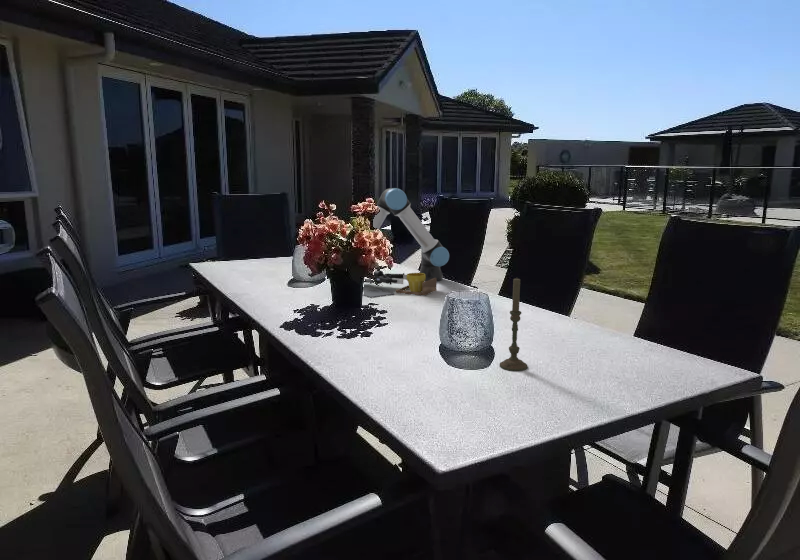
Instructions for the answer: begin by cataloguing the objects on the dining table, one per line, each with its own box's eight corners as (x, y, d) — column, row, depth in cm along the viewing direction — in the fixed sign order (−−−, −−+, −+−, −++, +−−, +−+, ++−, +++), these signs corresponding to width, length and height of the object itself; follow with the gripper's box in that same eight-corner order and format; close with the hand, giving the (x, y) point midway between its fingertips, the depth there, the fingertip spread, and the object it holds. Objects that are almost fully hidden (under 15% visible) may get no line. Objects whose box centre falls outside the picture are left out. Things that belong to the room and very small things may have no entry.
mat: (379, 290, 310) (379, 289, 310) (394, 294, 298) (394, 293, 298) (356, 293, 302) (356, 292, 302) (370, 297, 290) (370, 296, 290)
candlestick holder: (528, 363, 186) (531, 275, 181) (527, 372, 178) (531, 279, 172) (500, 361, 189) (503, 274, 183) (498, 369, 180) (501, 278, 175)
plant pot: (404, 292, 303) (404, 275, 301) (409, 289, 312) (409, 272, 311) (422, 294, 300) (422, 276, 298) (427, 290, 309) (427, 273, 308)
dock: (395, 292, 302) (395, 280, 301) (408, 287, 317) (408, 275, 316) (424, 295, 295) (424, 282, 294) (436, 290, 310) (436, 277, 308)
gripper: (385, 279, 327) (418, 282, 318) (363, 286, 306) (398, 290, 296) (385, 267, 326) (418, 269, 317) (363, 273, 304) (398, 276, 295)
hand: (408, 279), depth 306 cm, fingers open, 13 cm apart
